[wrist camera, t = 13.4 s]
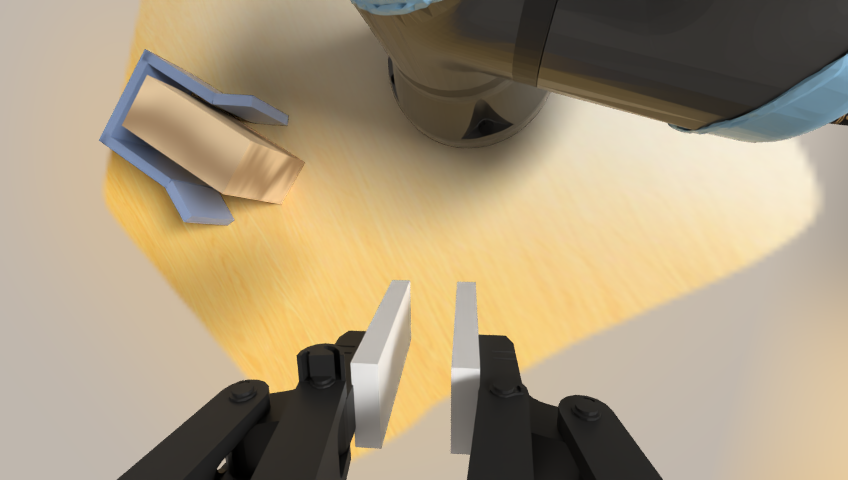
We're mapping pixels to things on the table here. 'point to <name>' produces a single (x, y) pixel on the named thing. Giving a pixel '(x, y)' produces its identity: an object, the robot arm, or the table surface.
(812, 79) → the robot arm
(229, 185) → the block
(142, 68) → the blue u-shaped bracket
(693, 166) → the table surface
